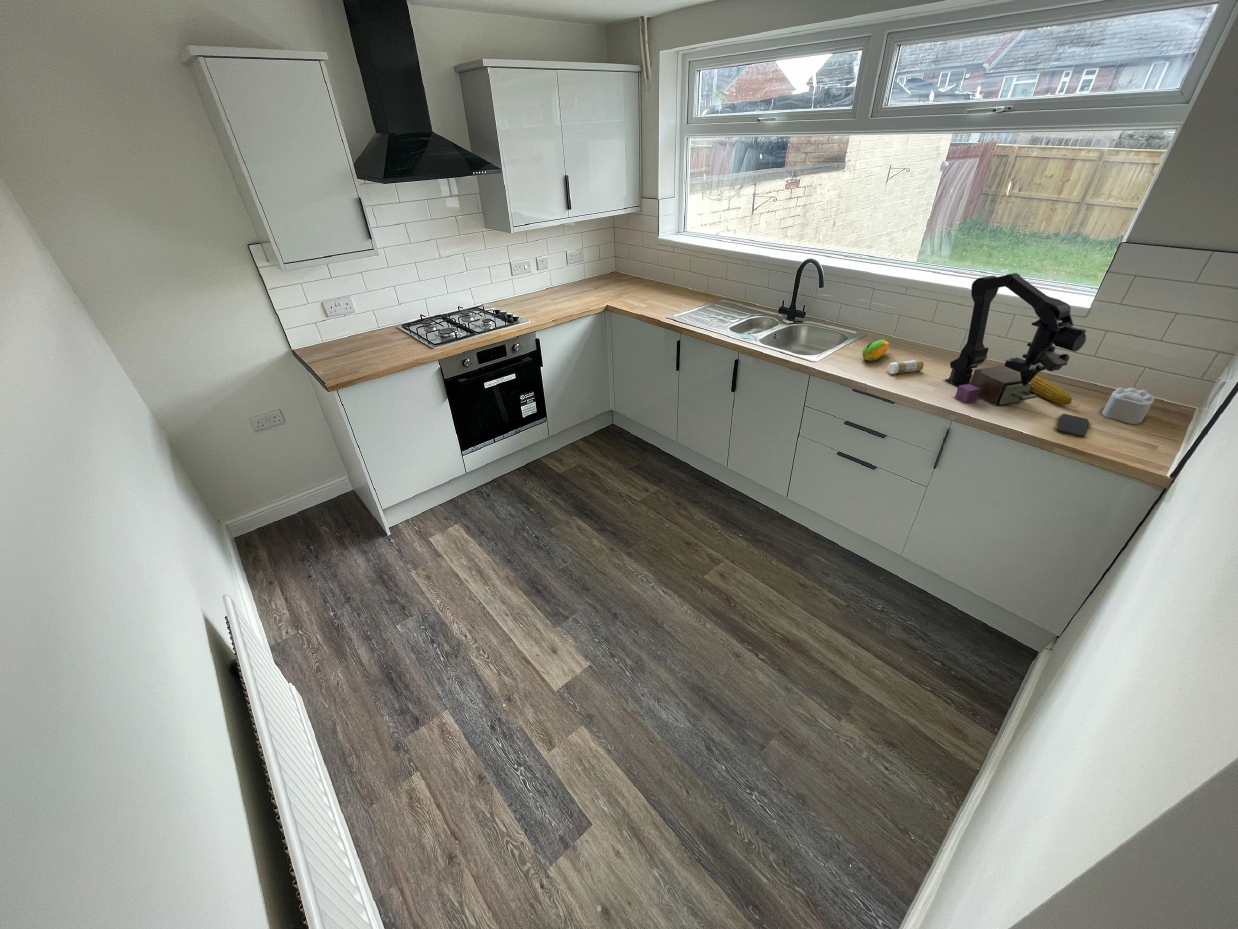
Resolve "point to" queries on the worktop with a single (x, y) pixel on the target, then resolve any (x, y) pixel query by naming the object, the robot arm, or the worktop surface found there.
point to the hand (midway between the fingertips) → (1024, 385)
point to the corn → (875, 350)
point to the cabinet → (993, 382)
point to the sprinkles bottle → (905, 366)
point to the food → (1050, 391)
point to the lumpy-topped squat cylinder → (1128, 405)
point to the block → (967, 393)
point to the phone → (1073, 425)
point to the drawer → (1016, 393)
